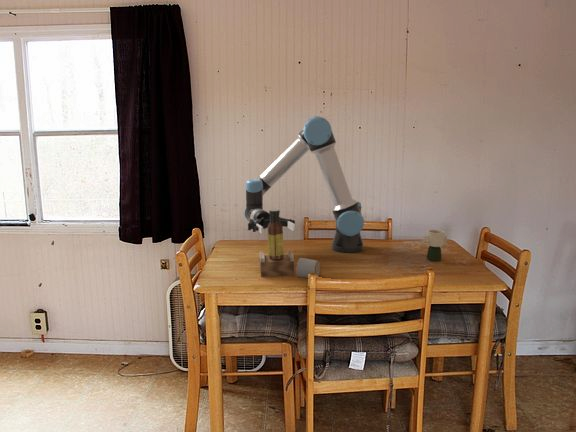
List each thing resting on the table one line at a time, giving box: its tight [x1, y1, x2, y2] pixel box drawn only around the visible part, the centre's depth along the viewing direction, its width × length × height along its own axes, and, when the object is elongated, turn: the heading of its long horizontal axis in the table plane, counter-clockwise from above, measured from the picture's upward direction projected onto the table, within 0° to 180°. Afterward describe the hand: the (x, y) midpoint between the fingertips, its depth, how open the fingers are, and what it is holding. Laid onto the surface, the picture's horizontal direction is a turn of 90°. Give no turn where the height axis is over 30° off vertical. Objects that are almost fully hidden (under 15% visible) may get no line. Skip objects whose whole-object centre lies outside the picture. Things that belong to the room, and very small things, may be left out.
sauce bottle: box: [267, 208, 285, 260], centre depth 194 cm, size 7×6×20 cm
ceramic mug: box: [295, 257, 321, 279], centre depth 192 cm, size 11×8×8 cm
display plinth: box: [259, 250, 295, 278], centre depth 196 cm, size 13×10×8 cm
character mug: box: [422, 229, 448, 261], centre depth 214 cm, size 11×7×13 cm, turn 98°
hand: (278, 229), depth 191 cm, fingers open, 13 cm apart
